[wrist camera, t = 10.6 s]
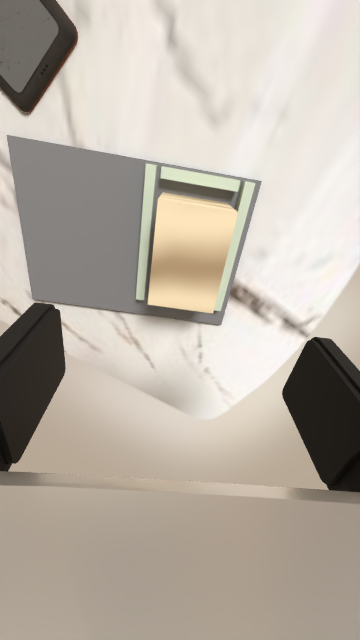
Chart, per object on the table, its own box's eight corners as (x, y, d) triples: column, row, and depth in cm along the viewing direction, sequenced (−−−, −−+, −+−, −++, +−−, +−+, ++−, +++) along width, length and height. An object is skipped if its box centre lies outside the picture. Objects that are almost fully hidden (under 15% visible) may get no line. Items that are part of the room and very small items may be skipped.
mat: (35, 296, 27) (27, 303, 26) (10, 135, 20) (-2, 133, 19) (220, 322, 28) (222, 330, 27) (260, 180, 21) (265, 181, 20)
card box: (162, 192, 21) (157, 198, 17) (227, 203, 22) (238, 212, 17) (153, 281, 25) (147, 304, 21) (207, 288, 26) (212, 313, 22)
